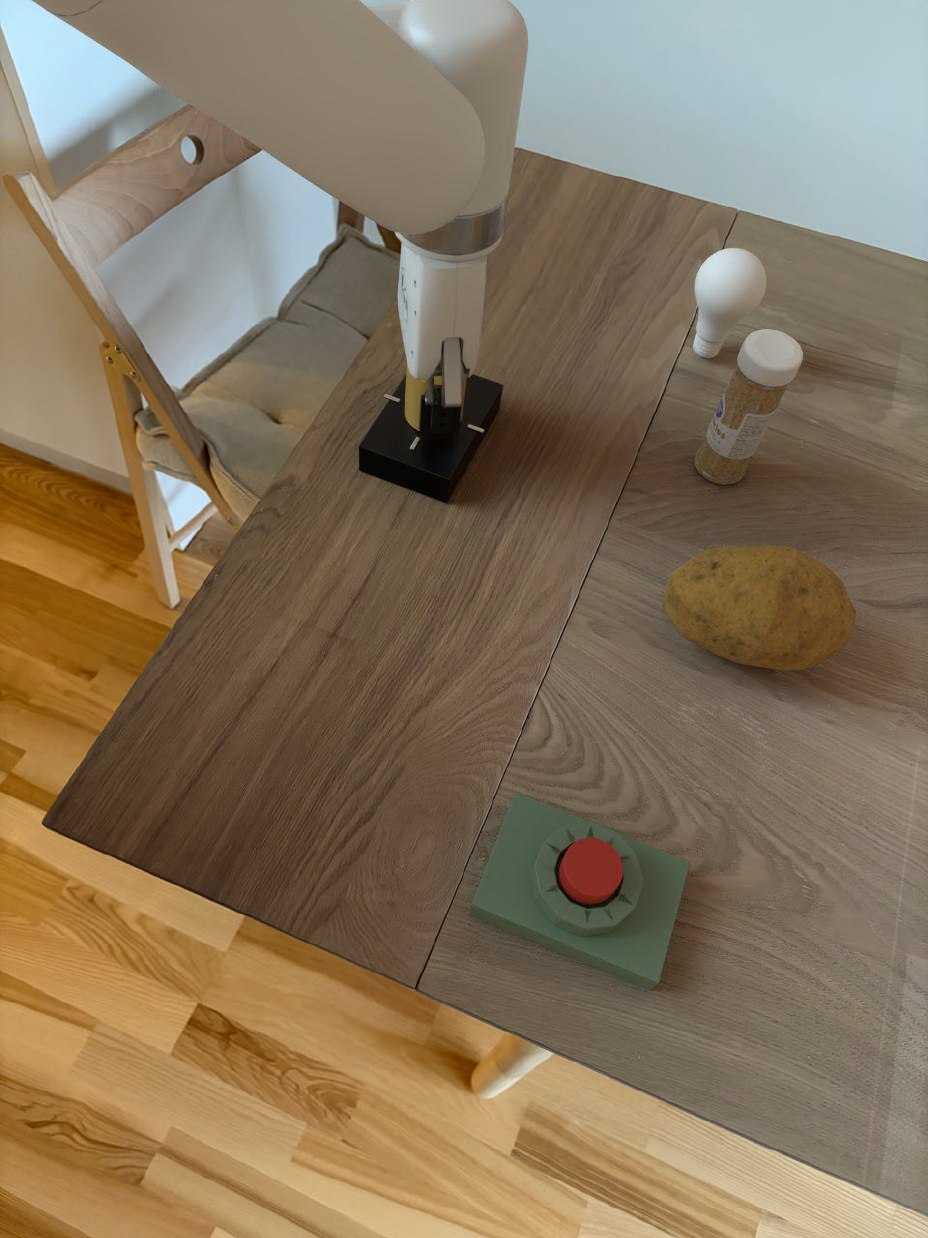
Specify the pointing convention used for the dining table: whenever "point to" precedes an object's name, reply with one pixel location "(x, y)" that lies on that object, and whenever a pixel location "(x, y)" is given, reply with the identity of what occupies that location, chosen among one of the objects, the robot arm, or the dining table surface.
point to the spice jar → (748, 404)
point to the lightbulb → (725, 296)
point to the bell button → (590, 871)
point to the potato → (760, 606)
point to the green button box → (544, 913)
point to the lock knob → (414, 396)
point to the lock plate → (428, 442)
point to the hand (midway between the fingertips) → (434, 405)
